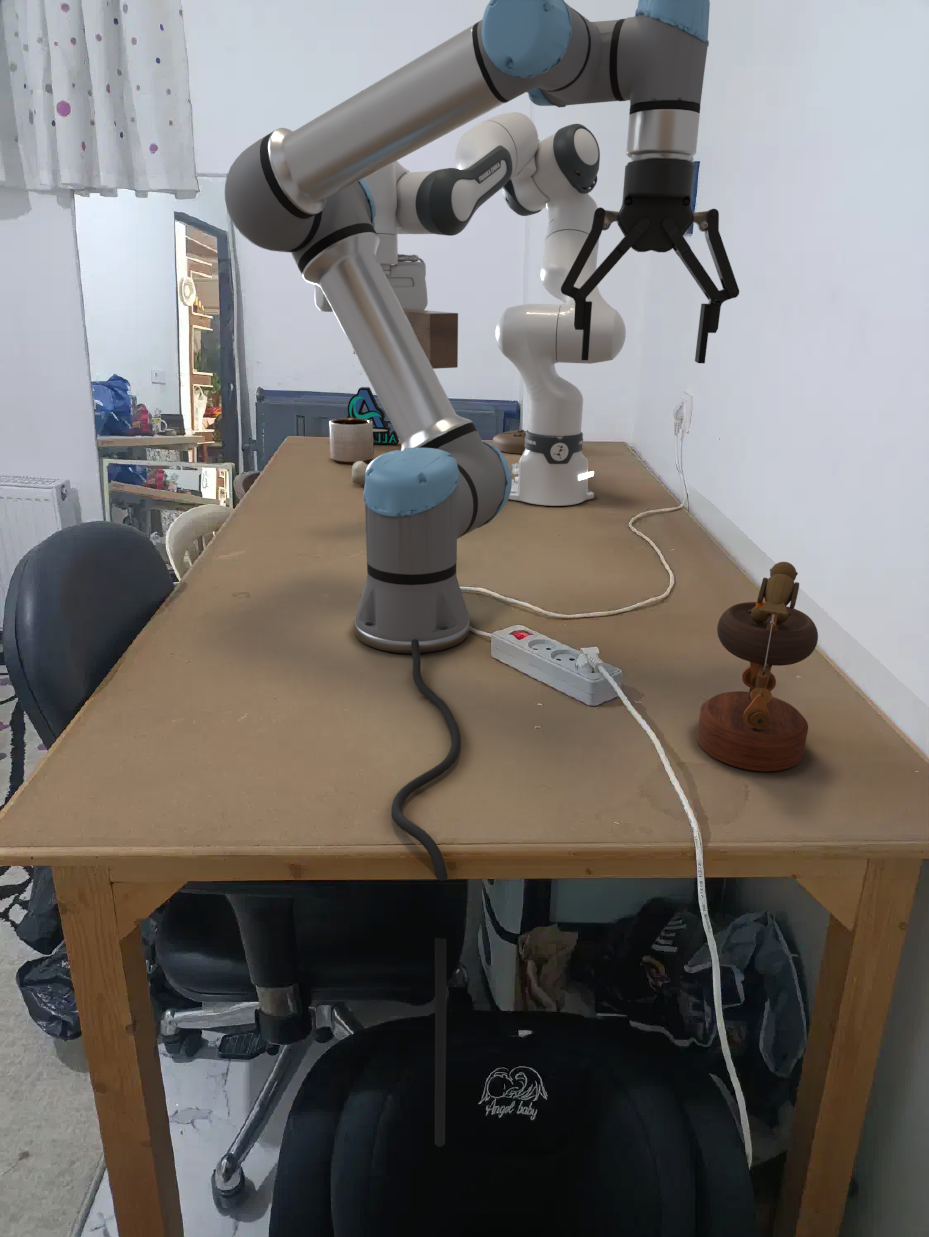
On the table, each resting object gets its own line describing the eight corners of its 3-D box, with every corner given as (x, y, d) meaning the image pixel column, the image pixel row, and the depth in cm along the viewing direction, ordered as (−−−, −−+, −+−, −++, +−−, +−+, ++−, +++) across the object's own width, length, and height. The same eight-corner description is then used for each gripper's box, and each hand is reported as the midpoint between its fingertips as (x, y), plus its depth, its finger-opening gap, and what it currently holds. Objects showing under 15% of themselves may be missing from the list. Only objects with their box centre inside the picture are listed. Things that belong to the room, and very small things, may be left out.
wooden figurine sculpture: (826, 784, 80) (847, 586, 73) (707, 784, 81) (715, 589, 74) (787, 708, 94) (802, 535, 87) (686, 708, 95) (692, 539, 88)
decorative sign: (399, 443, 236) (398, 387, 230) (398, 444, 233) (397, 389, 228) (332, 441, 237) (329, 386, 231) (330, 442, 234) (327, 387, 229)
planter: (327, 456, 217) (325, 418, 214) (369, 454, 220) (368, 417, 217) (334, 465, 208) (332, 425, 204) (377, 463, 211) (376, 424, 207)
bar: (457, 367, 131) (458, 313, 128) (430, 368, 129) (430, 313, 126) (378, 353, 153) (377, 306, 150) (353, 354, 151) (351, 306, 148)
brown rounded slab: (498, 463, 213) (499, 446, 211) (490, 442, 239) (491, 427, 237) (581, 463, 214) (582, 447, 212) (564, 443, 240) (565, 428, 238)
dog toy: (438, 479, 195) (438, 457, 193) (442, 485, 190) (442, 463, 188) (350, 481, 192) (349, 459, 190) (351, 487, 187) (351, 464, 185)
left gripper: (768, 165, 95) (742, 360, 103) (547, 163, 98) (538, 355, 106) (785, 156, 89) (755, 366, 97) (546, 155, 91) (536, 361, 99)
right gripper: (416, 255, 151) (417, 336, 156) (308, 252, 141) (313, 339, 146) (434, 254, 146) (434, 339, 151) (323, 251, 136) (327, 342, 141)
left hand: (641, 361), depth 101 cm, fingers open, 13 cm apart
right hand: (373, 339), depth 148 cm, fingers closed on bar, 5 cm apart
